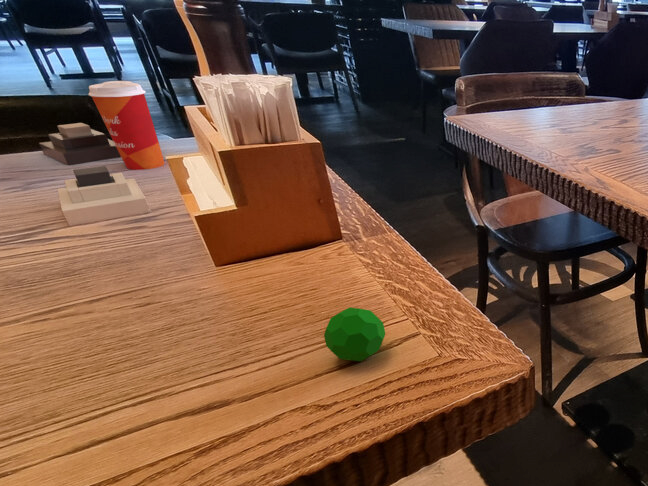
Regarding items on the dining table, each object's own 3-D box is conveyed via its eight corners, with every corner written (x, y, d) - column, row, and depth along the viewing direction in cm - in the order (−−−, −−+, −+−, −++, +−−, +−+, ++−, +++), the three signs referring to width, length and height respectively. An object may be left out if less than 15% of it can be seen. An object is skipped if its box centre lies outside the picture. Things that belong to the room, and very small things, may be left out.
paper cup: (116, 164, 96) (82, 83, 90) (167, 158, 101) (139, 81, 94) (122, 174, 92) (87, 89, 85) (175, 167, 96) (146, 86, 90)
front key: (79, 183, 76) (73, 169, 75) (111, 179, 78) (105, 165, 77) (81, 189, 74) (75, 175, 73) (114, 185, 76) (108, 171, 75)
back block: (44, 154, 100) (33, 133, 98) (102, 146, 107) (93, 126, 105) (68, 165, 95) (58, 143, 93) (128, 156, 101) (119, 135, 99)
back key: (62, 136, 98) (57, 125, 97) (86, 133, 101) (81, 122, 100) (69, 139, 97) (64, 128, 96) (93, 136, 99) (89, 125, 98)
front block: (64, 202, 79) (51, 177, 77) (139, 191, 84) (129, 167, 82) (69, 226, 72) (55, 198, 70) (151, 212, 77) (140, 185, 75)
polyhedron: (357, 378, 46) (346, 333, 44) (318, 361, 48) (306, 317, 45) (399, 349, 50) (392, 306, 47) (362, 335, 52) (353, 293, 49)
